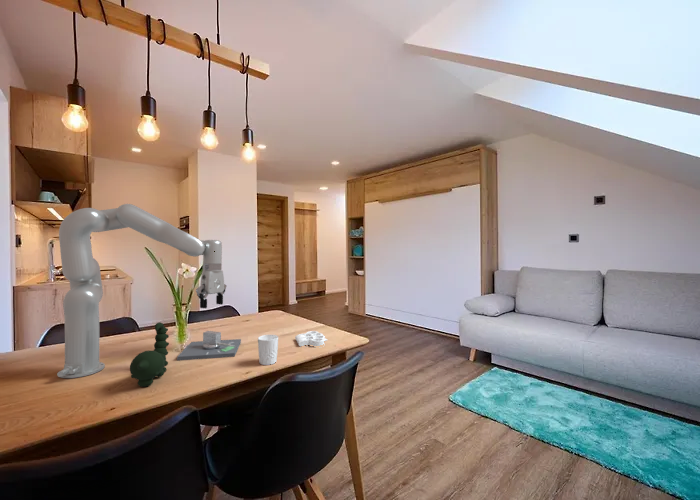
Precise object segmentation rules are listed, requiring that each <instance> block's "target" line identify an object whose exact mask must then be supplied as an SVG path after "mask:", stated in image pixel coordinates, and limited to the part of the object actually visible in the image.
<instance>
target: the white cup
mask: <svg viewBox="0 0 700 500" xmlns="http://www.w3.org/2000/svg"><path fill="white" fill-rule="evenodd" d="M257 343H258V344H257V347H258V360H259V361H258V362H259V364H260V365H263V366H270V364H271V365H274V364H276V363H277V361H278V360H277V359H278V358H277V357H278V348H279V335H276V334H263V335H260V336H258V337H257ZM275 362H276V363H275Z"/></svg>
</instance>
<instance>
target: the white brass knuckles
mask: <svg viewBox="0 0 700 500" xmlns="http://www.w3.org/2000/svg"><path fill="white" fill-rule="evenodd" d="M294 338H295V340H296V343H297V344H298V346H299V347H301V346H304V345H313V346H320V345H323V344H324V345H325V343H324V341H325V342H327V341H328V338H325V335H324V333H321V332H319V331H318V330H317V331H316V330H311V331H310V330H309V331H307V332H305V333H300V334H296V335H295V337H294Z"/></svg>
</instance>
